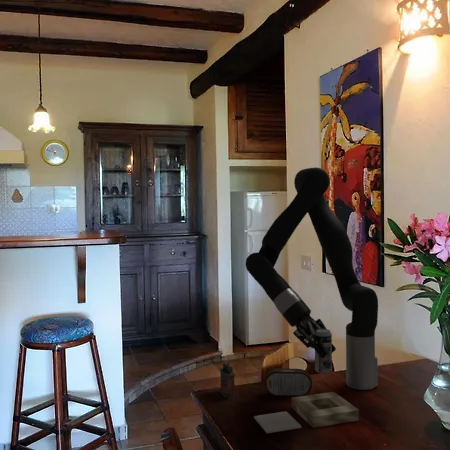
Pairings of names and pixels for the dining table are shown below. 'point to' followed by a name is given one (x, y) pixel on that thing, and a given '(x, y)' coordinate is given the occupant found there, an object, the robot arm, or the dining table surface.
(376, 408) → the dining table surface
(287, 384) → the tin
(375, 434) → the dining table surface
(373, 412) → the dining table surface
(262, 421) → the pad
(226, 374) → the lighter
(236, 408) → the dining table surface
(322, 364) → the beer can
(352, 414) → the socket block
